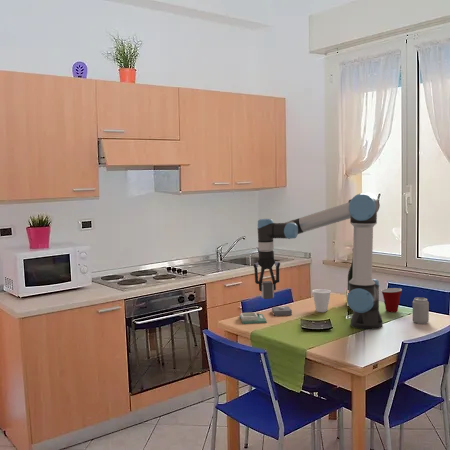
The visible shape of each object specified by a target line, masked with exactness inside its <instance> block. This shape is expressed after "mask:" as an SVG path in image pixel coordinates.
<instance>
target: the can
mask: <svg viewBox="0 0 450 450" xmlns="http://www.w3.org/2000/svg"><path fill="white" fill-rule="evenodd" d="M429 305H430V303H429V301H428V298H425V297H414V299H413V301H412V321H413V323H414V324H418V325H426V324H428V323H429V320H430V319H429V318H430V316H429V315H430V311H429V307H430V306H429Z"/></svg>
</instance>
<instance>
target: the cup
mask: <svg viewBox="0 0 450 450" xmlns="http://www.w3.org/2000/svg"><path fill="white" fill-rule="evenodd" d="M311 292H312V295H313V300H314V305H315V306H314V307H315V311H316V312H317V313H326V311H328V309H329V304H330V297H331V292H332V290H329V289H324V288H318V289H312V291H311Z"/></svg>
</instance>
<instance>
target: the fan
mask: <svg viewBox="0 0 450 450" xmlns="http://www.w3.org/2000/svg"><path fill="white" fill-rule="evenodd" d="M271 311H272V314H273V315H274V316H275V317H278V316H280V317H281V316H282V315H283V316H293V310H292V309H291V308H290V306H287V305H285V306H273V307H271Z"/></svg>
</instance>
